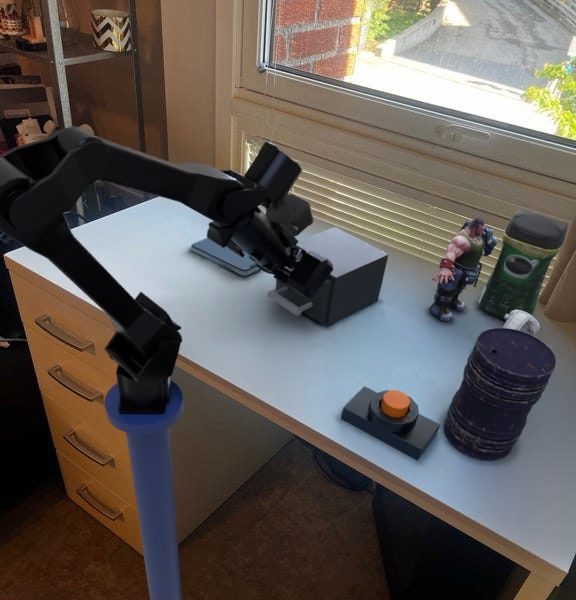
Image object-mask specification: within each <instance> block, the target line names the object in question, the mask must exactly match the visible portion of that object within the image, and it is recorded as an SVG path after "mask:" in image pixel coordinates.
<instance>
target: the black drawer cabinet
mask: <svg viewBox="0 0 576 600" xmlns="http://www.w3.org/2000/svg"><path fill="white" fill-rule="evenodd" d="M297 240H298V241H299V242H298V243H297V246H299V247H301V248H302V249H304V250H306V251H310V250H313V251H315V252H316V253H318V254H320V255H322V256H324V257H325V258H327V259H329V261H330V262H331V263H332V264H333V271H332V272H331V274H330V275H329V277H328V278H329V279H331V280H332V287H331V293H330V299H329V305H328V311H327V317H326V321H325V322H323V323H321V324H322V325H324V326H326V327H327V328H329V327H331V326H333V325H335V324H337V323H339V322H340V321H343V320H344V319H346V318H348V317H350V316H352V315H355V314H357V313H358V312H360V311H362V310H364V309H366V308H368V307H370V306H372V305H374V304H375V303H377V302H379V297H380V294H381V289H382V285H383V280H384V277H385V272H386V268H387V264H388V259H389V254H388V253H386V252H385V251H382V250H381V249H379V248H378V247H376V246H373V245H371V244H370V243H367V242H366V241H364V240H363V239H359V238H358V237H356V236H354V235H352V234H350V233H348V232H346V231H344V230H343V229H340V228H338V227H337V226H334V227H331V228H328V229H325V230H322V231H320V232H317V233H315V234H312V235H310V236H307V237H304V238H301V239H297Z"/></svg>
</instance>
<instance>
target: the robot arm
mask: <svg viewBox="0 0 576 600" xmlns="http://www.w3.org/2000/svg"><path fill="white" fill-rule="evenodd" d="M302 173H303V168H302V167H301V166H300V164H299V163H298V162H297V161H294V160H293V159H292V158H291V157H290V156H289V155H287V153H285V152H283V151H282V150H280V149H279V147H278V146H277V145H276V144H274V143H271V142H269V141H265V142H264V143H263V144H262V145H261V148H260V150H259V151H258V153H257V156H256V157H255V158H254V159H253V161H252V163H251V164H250V165H249V167H248V169H246V171H245V173H244V174H243V175H242V174H241V173H239V172H236V171H234V170H233V169H230V168H229V169H227V168H226V169H217V168H215V167H213V166H211V165H208V164H205V163H198V162H197V163H196V162H188V161H187V162H183V163H177V162H171V161H168V160H165V159H162V158H160V157H157V156H153V155H151V154H148V153H145V152H143V151H140V150H136V149H134V148H131V147H128V146H125V145H122V144H119V143H117V142H114V141H111V140H108V139H105V138H103V137H100V136H97V135H94V134H92V133H90V132H89V131H86V129H84V128H81V127H79V126H69V127H68V126H67V127H64V128H61V130H59V131H57V132H56V133H53V134H52V135H50V136H48V137H46V138H42V139H39V140H35V141H31V142H28V143H25V144H21V145H18V146H15V147H13V148H11V149H9V150H7V151H6V152H4V153H2V154H1V155H0V231H1V232H2V233H3V234H4V235H6V236H7V237H9V238H10V239H12V240H14V241H15V242H17V243H19V244H20V245H22V246H24V247H25V248H27V249H28V250H30V251H32V252H34V253H35V254H38V255H40V256H42V257H43V258H45V259H47V260H48V261H49V262H50V263H51V264H52V265H53V266H55V267H56V268H57V269H58V270H59V271H60V273H62V274H63V275H64V276H65V277H66V278H67V279H69V280H70V281H71V282H72V283H73V284H74V285H75V286H76V287H77V288H78V289H79V290H80V291H81V292H83V294H84V295H86V296H87V298H89V299H90V300H91V301H92V302H93V303H95V305H97V306H98V307H99V308H100V309H101V310H102V311H103V312H104V313H105V314H106V315H107V316H108V317H109V320H110V323H111V325H112V327H113V328H114V330H115V333H114V334H113V335H112V337H111V339H110V340H109V341H108V342H107V344H106V345H105V346H104V351H105V353H106V354H107V356H108V357H109V358H110V360H112V361H114V363H115V364H117V367H116V371H115V375H116V383H118V390H119V397H120V403H119V407H118V413H119V414H150V415H163V414H164V413H165V409H166V403H168V402H169V400H170V392H171V388H170V380H171V377H172V376H173V373H174V370H175V366H176V363H177V359H178V356H179V352H180V348H181V344H182V343H183V336H182V334H181V333H180V332H179V331H181V330H182V327H181V325H180V324H178V323H177V322H175V321H174V320H173V319H172V318H171V316H170V315H169V313H168V312H167V311H166V310H165V309H164V308H163V307H161V305H159V304H158V303H156V302H155V301H154V300H153V299H151V298H150V297H149V296H147V295H146V294H145V293H144V292H143V291H139V293H138V294H137V296H136V297H135V298H134V297H133V295H131V293H129V292H128V290H126V289H125V287H123V285H122V284H120V283H119V281H118V280H117V279H116V278H115V277H114V276H113V275H112V274H111V273H110V272H109V271H108V269H106V268H105V266H104V265H102V264H101V262H100V261H98V259H97V258H96V257H95V256H94V255H93V254H92V253H91V252H90V251H89V250H88V249H87V248H86V247H85V246H84V245H83V244H82V243H81V242H80V241H79V240H78V239H77V237H76V236H75V235H74V234H73V232H72V230H71V227H70V224H69V222H68V220H67V217H66V215H65V213H66V212H68V211H69V210H71V209H72V208H73V207H74V206H75V205H76V204H77V202H79V199H80V198H81V197H82V195H83V194H84V193H85V192H86V190H87V188H88V187H89V186H90V185H92V184H94V183H95V182H96V181H98V180H99V181H103V182H107V183H111V184H114V185H118V186H122V187H124V188H129V189H132V190H135V191H138V192H143V193H146V194H149V195H153V196H156V197H160V198H163V199H168V200H170V201H174V202H178V203H179V204H182V205H184V206H185V207H188V208H190V209H191V210H193V211H195V212H196V213H199V215H201V216H204V217H206V219H209V220H211V221H210V222H208V228H207V231H206V238H208V239H209V240H211V241H213V242H214V243H216V244H217V245H219V246H220V247H222V248H225V247H228V248H229V249H230V250H231V251H232V252H234V253H235V254H237V255H239V256H240V257H242V258H243V257H244V255H245V254H244V253H243V252H245V253H247V254H248V255H249V256H250V257H249V258H250V259H251V260H252V261H254V262H255V263H256V266H257V267H258V268H260V269H259V270H261V271H262V272H264V273H266V274H270V275H273V279H276V280H279V281H280V282H282V283H284V284H288V286H289V287H291V288H292V289H293V290H295V291H296V292H297V293H299V294H301V295H302V296H304V297H305V298H307V299H312V298H314V297H315V295H316V294H317V292H318V291H319V289H320V288H321V287H322V285H323V284H324V282H325V281H326V279H327V278H328V277H329V275H330V274H331V272H332V271H333V264H332V263H331V262H330V261H329V259H327V258H325V257H324V256H322V255H320V254H318V253H316V252H315V251H313V250H310V251H306V250H304V249H302V248H301V247H299V246H297V243H298V242H299V241H298V240H299V239H297V238H296V237H297V236H299V235H300V234H301V233H302V232H303V231H304V230H306V229H307V228H308V227H309V226H311V225H313V223H314V222H315V219H314V215H313V211H312V207H311V203H310V202H309V200H306V199H304V198H302V197H300V196H298V195H296V194H294V193H290V194H289V192H290V191H291V189H292V188H293V186H294V185H295V184H296V182H297V180H298V179H299V178H300V176H301V175H302ZM259 206H262V207H263V208H264V209H265V212H263V211H262V210H261V209H260V207H259ZM242 251H243V252H242ZM121 410H123V411H121Z"/></svg>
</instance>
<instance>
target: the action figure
mask: <svg viewBox="0 0 576 600" xmlns="http://www.w3.org/2000/svg"><path fill="white" fill-rule="evenodd" d="M497 244H498V240H497V238H496V237H495V236H494V229H493V228H492V227H490V226H487V225H486V221H485V220H484V219H483V218H481V217H475V218H472V219H471V220H466V221H465V222H464V223H463V225H462V226H461V228H460V230H459V232H458V233H457V234H456V235H455V236H454V237H453V239H452V240H451V242H450V244H448V246H447V247H446V251H445V254H444V255H443V256H442V258H441V259H440V263H439V269H438V272H437V273H436V275H433V277H432V278H431V281H433V282H437V287H436V291H435V293H434V301H433V302H432V303H431V304H430V306H429V307H428V312H429V314H430V315H431V316H432V317H433V318H435V319H437V321H440V322H441V323H449V322H451V321H452V320H453V318H454V317H453V313H452V312H451V311H449V310H447V308H449V309H451V310H453V311H454V312H457V313H463V312H464V310H465V309H466V304H465V303H464V302H463V301H462V300H460V299H459V295H460V294H461V293H463V290H464V289H466V287H467V286H468V285H469V286H472V285H473V288H476V287H477V285H478V281H479V278H480V275H481V271H482V269H483V263H482V262H480V261H481V258H482V256H483V257H488V256H490V255H491V254H492V253H493V250H494V248H495V247H496V246H497Z"/></svg>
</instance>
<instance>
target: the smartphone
mask: <svg viewBox="0 0 576 600" xmlns="http://www.w3.org/2000/svg"><path fill="white" fill-rule="evenodd" d="M190 247H191V248H190V249H191V251H192V252H193V253H195V254H198V255H200V256H202V257H204V258H206V259H208V260H210V261H211V262H214V263H216V264H218V265H220V266H222V267H224V268H226V269H227V270H230V271H233V272H234V273H236V274H238V275H240V276H248V275H251V274H253V273H255V272H257V271H259V270H261V269H260V268H258V267H257V266H256V263H255V262H254V261H252V260H251V259H250V258H249V257H250V256H249V255H248V254H247V253H245V252H243V251H242V252H243V253H244V254H245V255H244V257H243V258H242V257H240V256H239V255H237V254H235V253H234V252H232V251H231V250H230V249H229V248H228V247H225V248H222V247H220V246H219V245H217V244H216V243H214V242H213V241H211V240H209V239H208V238H207V237H206V238H204V239H201V240H199V241H196V242H194V243H192V244H191V246H190Z"/></svg>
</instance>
